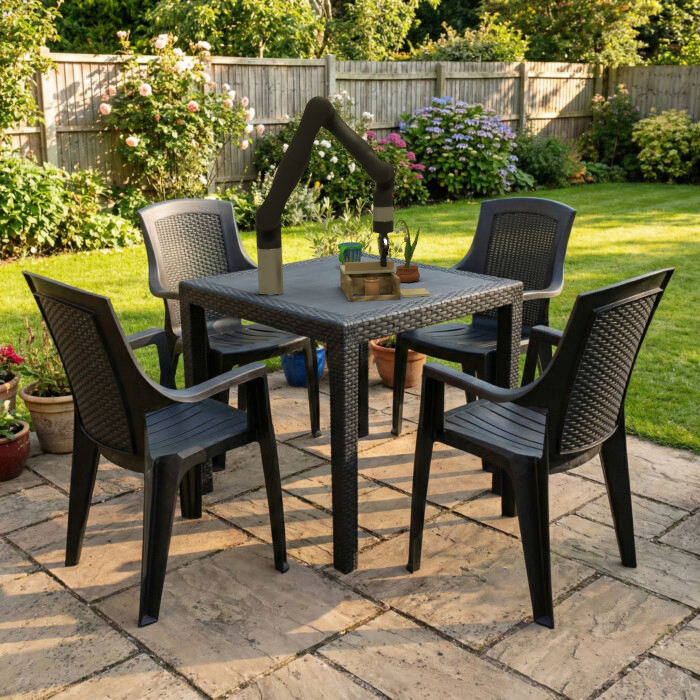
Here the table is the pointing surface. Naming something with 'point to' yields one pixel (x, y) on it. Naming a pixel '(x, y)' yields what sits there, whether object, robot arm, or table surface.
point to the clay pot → (372, 286)
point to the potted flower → (407, 257)
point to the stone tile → (414, 292)
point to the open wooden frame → (357, 286)
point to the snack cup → (350, 252)
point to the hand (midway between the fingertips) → (383, 266)
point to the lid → (366, 267)
